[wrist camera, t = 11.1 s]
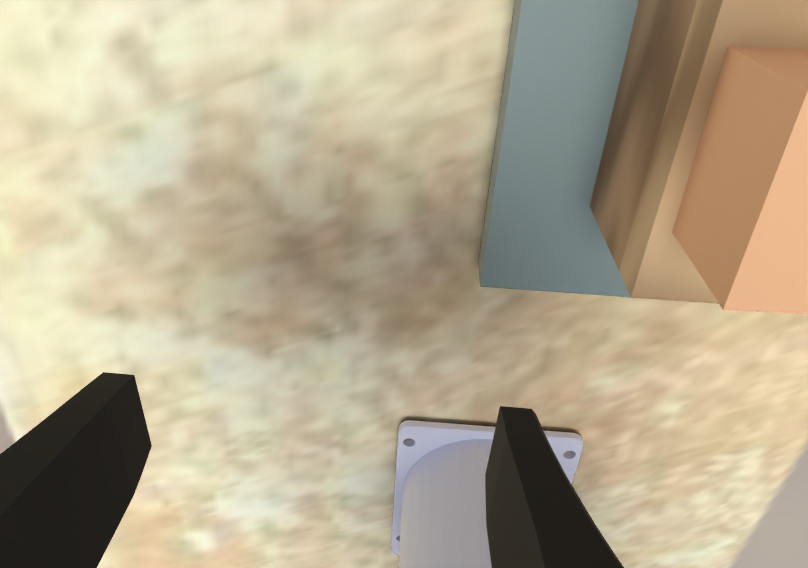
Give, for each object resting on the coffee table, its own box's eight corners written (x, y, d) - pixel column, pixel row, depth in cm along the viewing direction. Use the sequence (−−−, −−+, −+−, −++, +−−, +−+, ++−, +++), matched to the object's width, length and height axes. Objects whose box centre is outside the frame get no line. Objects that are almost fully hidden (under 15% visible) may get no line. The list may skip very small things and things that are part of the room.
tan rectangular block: (751, 217, 19) (838, 312, 15) (589, 206, 19) (630, 297, 15) (873, -85, 14) (1049, -72, 10) (662, -97, 14) (750, -89, 10)
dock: (783, 285, 22) (828, 337, 19) (478, 263, 22) (482, 312, 20) (1022, -216, 14) (1148, -238, 12) (548, -243, 14) (570, -270, 12)
